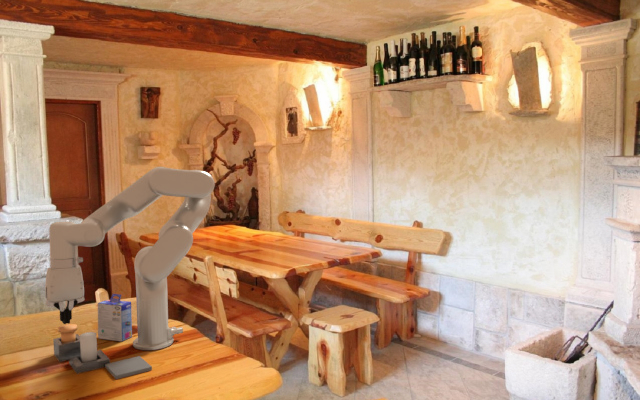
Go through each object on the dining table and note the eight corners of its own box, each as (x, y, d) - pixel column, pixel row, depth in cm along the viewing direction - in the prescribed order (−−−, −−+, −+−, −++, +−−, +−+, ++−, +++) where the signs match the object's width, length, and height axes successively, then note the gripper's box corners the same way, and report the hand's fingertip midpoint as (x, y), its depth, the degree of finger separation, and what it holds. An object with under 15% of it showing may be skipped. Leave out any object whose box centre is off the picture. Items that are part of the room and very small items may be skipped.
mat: (139, 359, 161) (139, 355, 161) (151, 370, 153) (151, 366, 153) (105, 367, 155) (105, 364, 155) (115, 379, 147) (115, 375, 147)
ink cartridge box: (133, 336, 180) (131, 294, 179) (122, 342, 175) (120, 298, 173) (109, 333, 183) (107, 292, 182) (97, 339, 178) (95, 296, 177)
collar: (100, 356, 163) (100, 349, 163) (109, 365, 156) (109, 359, 156) (69, 363, 158) (68, 356, 158) (77, 373, 151) (76, 366, 150)
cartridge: (95, 360, 160) (93, 331, 159) (99, 365, 157) (98, 335, 156) (79, 364, 157) (78, 334, 156) (83, 369, 154) (82, 338, 153)
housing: (78, 349, 169) (77, 334, 168) (84, 356, 163) (83, 340, 163) (54, 354, 164) (53, 338, 164) (59, 361, 159) (58, 345, 158)
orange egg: (75, 340, 167) (74, 322, 167) (80, 345, 163) (79, 327, 162) (57, 344, 164) (56, 326, 163) (61, 349, 160) (60, 330, 159)
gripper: (87, 258, 168) (88, 315, 170) (34, 263, 159) (36, 323, 161) (93, 262, 163) (95, 321, 164) (39, 268, 153) (41, 330, 155)
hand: (65, 322), depth 163 cm, fingers closed
